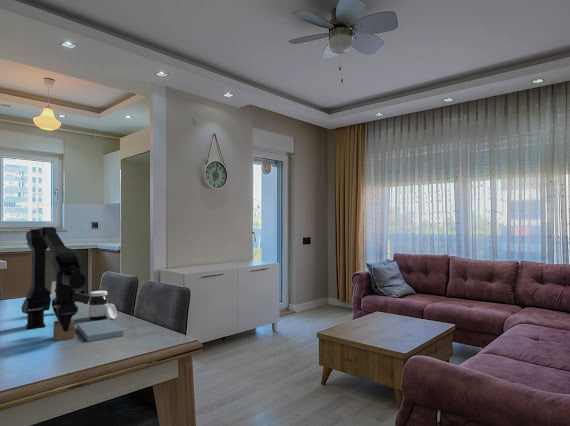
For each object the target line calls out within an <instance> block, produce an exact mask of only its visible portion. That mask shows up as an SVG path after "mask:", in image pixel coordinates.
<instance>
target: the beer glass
mask: <svg viewBox="0 0 570 426" xmlns="http://www.w3.org/2000/svg"><path fill="white" fill-rule="evenodd" d="M55 289H56V280H55V281H51V289H50V296H51V301H52V300H54V299H55V296H56V292H55ZM54 307H55V306H54ZM51 314H52V315H54V316H56V315H55V313H54V310H53V309H52V313H51Z"/></svg>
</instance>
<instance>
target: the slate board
mask: <svg viewBox="0 0 570 426" xmlns="http://www.w3.org/2000/svg"><path fill="white" fill-rule="evenodd" d="M76 326H77V327H76V329H77V330H78V331H79V333H80V334H81V335H82V336H83V338H84V340H86V341H87V342H88V343H89V342H94V341H101V340H106V339H107V340H108V339H111V338H119V337H123V336H124V329H123V328H121V327H120V326H119V325H117V324H116V323H115V322H114V321H112V319H109V318H106V319H102V320H91V321H84V322H78V323H77V324H76Z"/></svg>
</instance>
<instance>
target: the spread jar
mask: <svg viewBox="0 0 570 426" xmlns="http://www.w3.org/2000/svg"><path fill="white" fill-rule="evenodd" d="M90 296H91V297H90V299H89V302H88V318H89V320H90V321H99V320H106V319H110V320H114V319H116V318H117V315H118V314H117V313H118V311H117V308H116V306H115V304H114V303H109V297H108V291H107V290H95V291H90Z"/></svg>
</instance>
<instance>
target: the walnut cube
mask: <svg viewBox="0 0 570 426" xmlns="http://www.w3.org/2000/svg"><path fill="white" fill-rule="evenodd" d="M75 322H76V321H75V320H74V319H73V318H71V321H70V325H69V328H68V331H67V332H64V330H63V328H62V325H61V323H60V321H58V320H54V321H53V339H54V341H55V342H60V341H65V340H70V339H72V340H73V339H75V336H76V334H75V333H76V331H75V330H76V329H75V325H76V323H75Z"/></svg>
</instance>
